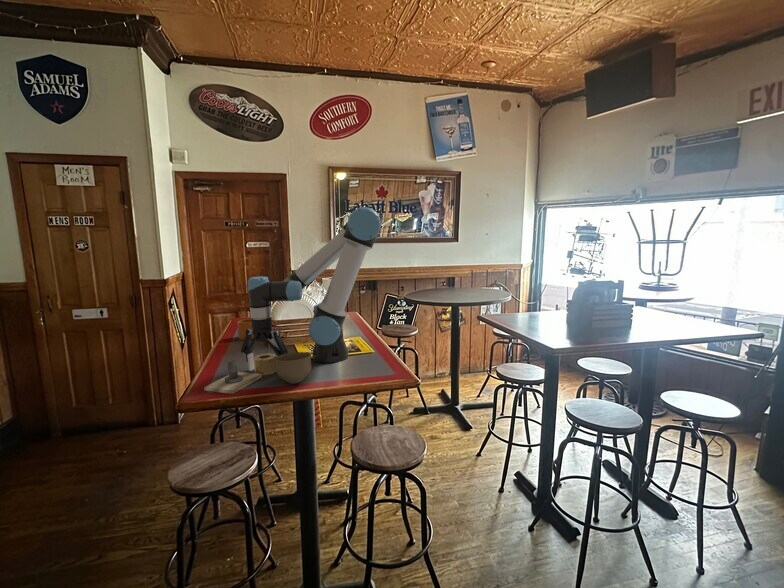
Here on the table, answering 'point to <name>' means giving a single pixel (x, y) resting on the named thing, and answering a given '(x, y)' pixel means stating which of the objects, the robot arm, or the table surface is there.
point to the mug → (244, 328)
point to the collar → (265, 364)
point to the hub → (232, 380)
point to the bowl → (293, 366)
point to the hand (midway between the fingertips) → (265, 371)
